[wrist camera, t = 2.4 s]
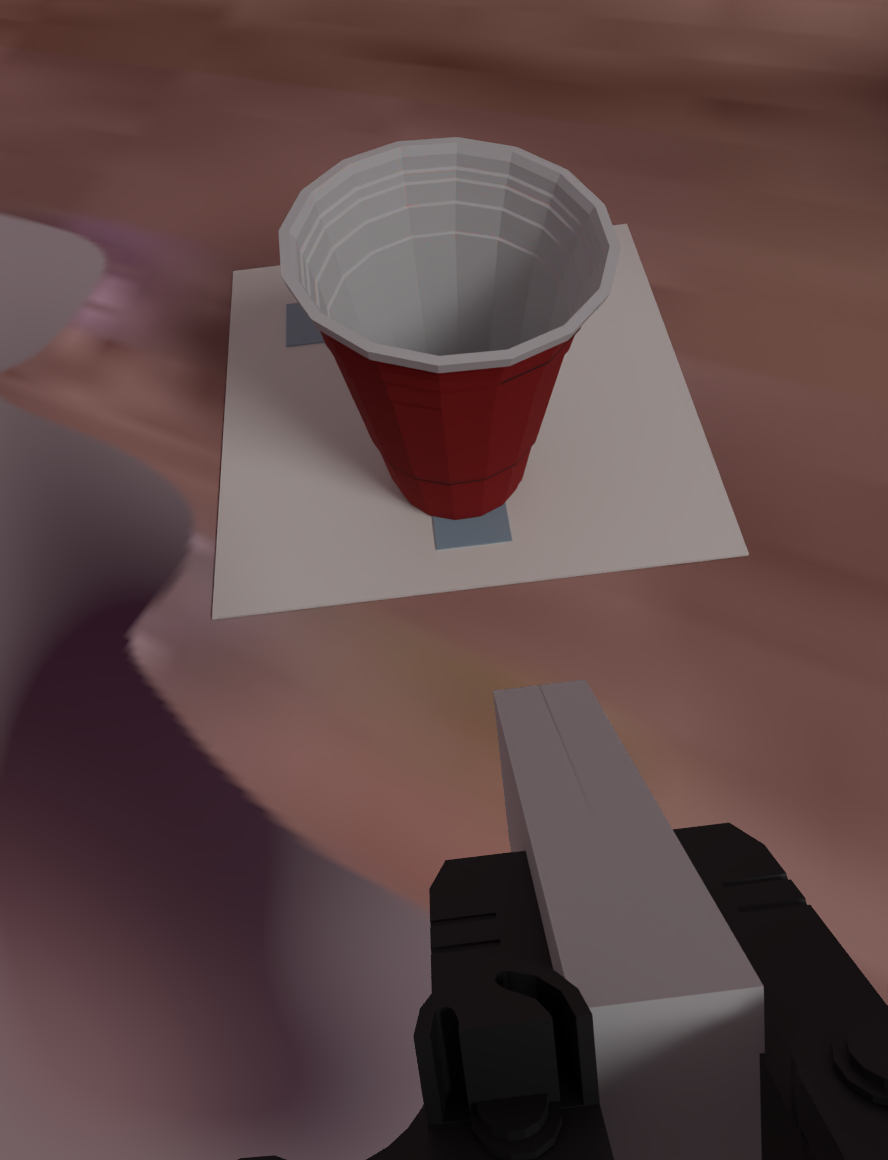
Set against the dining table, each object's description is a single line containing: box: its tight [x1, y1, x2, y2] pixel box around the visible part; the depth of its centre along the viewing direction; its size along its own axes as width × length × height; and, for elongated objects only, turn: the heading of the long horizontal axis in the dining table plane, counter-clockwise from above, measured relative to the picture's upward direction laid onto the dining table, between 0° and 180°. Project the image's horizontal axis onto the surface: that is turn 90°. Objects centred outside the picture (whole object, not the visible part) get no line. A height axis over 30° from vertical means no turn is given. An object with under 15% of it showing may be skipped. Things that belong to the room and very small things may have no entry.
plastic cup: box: [279, 137, 621, 520], centre depth 29 cm, size 11×11×12 cm
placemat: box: [212, 224, 749, 620], centre depth 37 cm, size 22×22×1 cm
